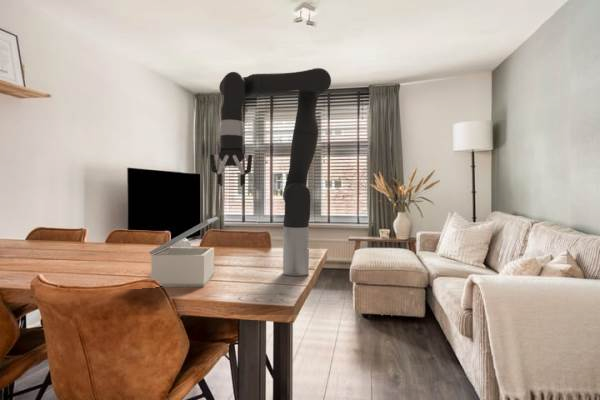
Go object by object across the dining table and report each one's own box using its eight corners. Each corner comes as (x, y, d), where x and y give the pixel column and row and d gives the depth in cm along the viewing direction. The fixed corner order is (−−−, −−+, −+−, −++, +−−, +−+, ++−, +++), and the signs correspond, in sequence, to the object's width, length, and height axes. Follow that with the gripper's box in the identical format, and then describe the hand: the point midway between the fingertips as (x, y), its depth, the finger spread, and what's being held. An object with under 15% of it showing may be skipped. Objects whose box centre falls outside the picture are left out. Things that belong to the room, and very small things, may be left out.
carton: (214, 275, 126) (214, 247, 126) (203, 287, 110) (204, 255, 110) (168, 275, 125) (168, 247, 125) (151, 287, 109) (151, 255, 109)
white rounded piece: (170, 268, 137) (171, 236, 137) (181, 267, 140) (181, 235, 140) (180, 273, 129) (181, 239, 129) (192, 271, 132) (192, 238, 132)
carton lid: (218, 218, 126) (217, 216, 126) (208, 222, 109) (206, 219, 109) (168, 246, 126) (167, 244, 126) (150, 254, 109) (149, 252, 109)
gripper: (254, 137, 122) (254, 186, 122) (212, 137, 121) (211, 186, 121) (252, 134, 114) (252, 186, 114) (207, 133, 114) (206, 185, 114)
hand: (231, 185), depth 118 cm, fingers open, 6 cm apart
